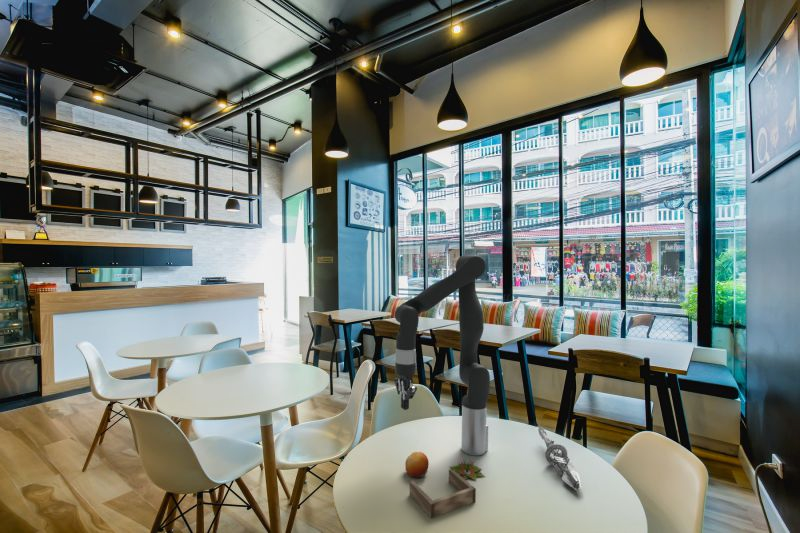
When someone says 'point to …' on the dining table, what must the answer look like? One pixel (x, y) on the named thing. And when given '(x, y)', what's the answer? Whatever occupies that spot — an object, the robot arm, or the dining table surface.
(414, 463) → the fruit
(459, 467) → the lily flower
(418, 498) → the brown wooden u-shaped frame
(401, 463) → the dining table surface
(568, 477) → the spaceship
